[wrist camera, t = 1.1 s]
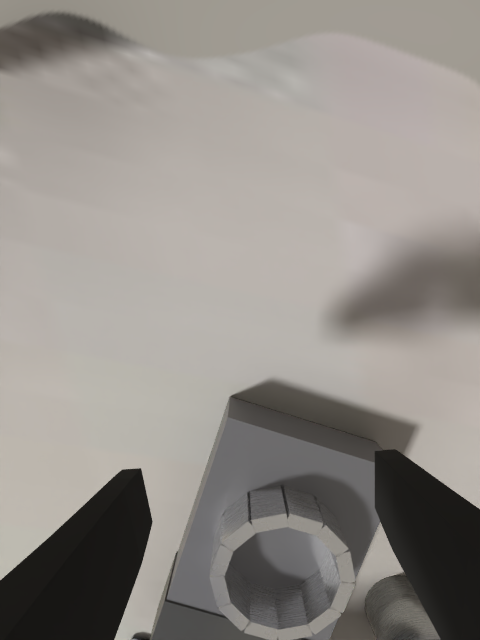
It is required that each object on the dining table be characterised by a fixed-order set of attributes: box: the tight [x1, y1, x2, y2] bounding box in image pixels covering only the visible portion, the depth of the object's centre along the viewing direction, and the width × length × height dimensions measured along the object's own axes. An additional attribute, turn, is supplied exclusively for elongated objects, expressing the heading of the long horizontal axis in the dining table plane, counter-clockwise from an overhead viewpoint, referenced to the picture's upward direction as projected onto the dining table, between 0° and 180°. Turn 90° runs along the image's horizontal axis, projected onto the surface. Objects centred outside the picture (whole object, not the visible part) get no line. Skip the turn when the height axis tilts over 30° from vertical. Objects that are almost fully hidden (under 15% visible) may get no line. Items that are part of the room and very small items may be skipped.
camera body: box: [150, 397, 382, 640], centre depth 17 cm, size 18×11×5 cm, turn 162°
